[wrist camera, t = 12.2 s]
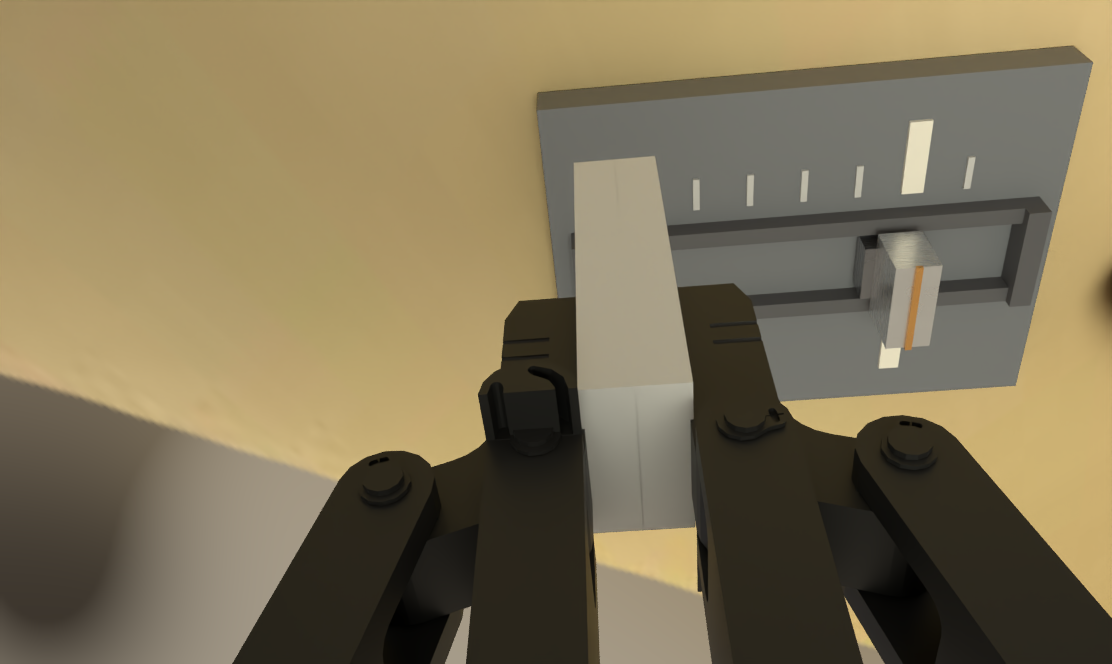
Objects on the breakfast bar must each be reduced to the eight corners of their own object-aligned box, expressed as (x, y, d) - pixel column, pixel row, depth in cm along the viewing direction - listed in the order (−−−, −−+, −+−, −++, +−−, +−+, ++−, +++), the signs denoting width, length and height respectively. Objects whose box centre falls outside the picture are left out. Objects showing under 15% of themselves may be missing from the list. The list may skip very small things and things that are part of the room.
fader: (851, 296, 49) (875, 352, 45) (859, 218, 46) (885, 270, 42) (912, 291, 48) (941, 347, 45) (923, 212, 46) (955, 265, 42)
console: (571, 392, 55) (571, 433, 52) (537, 92, 45) (535, 124, 42) (1002, 362, 54) (1026, 403, 51) (1073, 45, 43) (1108, 75, 40)
